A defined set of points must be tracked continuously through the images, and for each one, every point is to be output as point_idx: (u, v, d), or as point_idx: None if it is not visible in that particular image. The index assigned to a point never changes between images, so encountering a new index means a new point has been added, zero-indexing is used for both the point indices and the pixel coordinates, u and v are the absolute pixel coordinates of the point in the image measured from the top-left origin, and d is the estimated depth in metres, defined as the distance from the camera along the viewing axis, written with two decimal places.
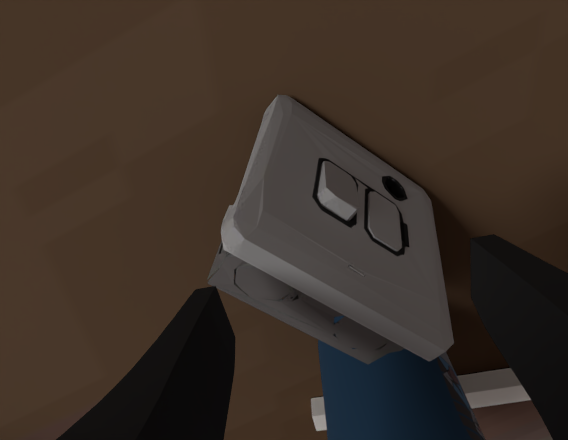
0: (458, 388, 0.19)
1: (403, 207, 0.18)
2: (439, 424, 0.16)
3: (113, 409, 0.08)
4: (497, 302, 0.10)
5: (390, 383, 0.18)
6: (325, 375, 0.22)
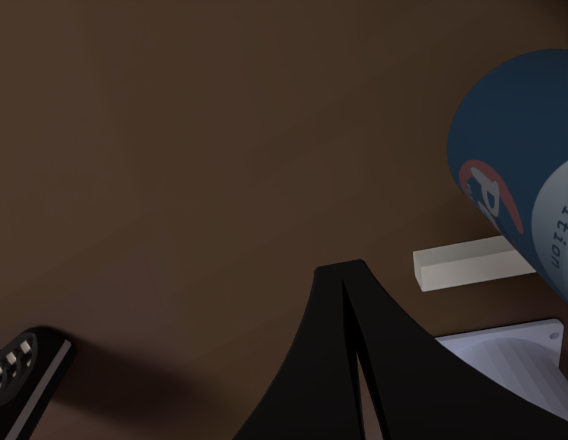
0: None
1: None
2: None
3: (302, 379, 0.07)
4: (353, 326, 0.10)
5: None
6: (486, 130, 0.14)
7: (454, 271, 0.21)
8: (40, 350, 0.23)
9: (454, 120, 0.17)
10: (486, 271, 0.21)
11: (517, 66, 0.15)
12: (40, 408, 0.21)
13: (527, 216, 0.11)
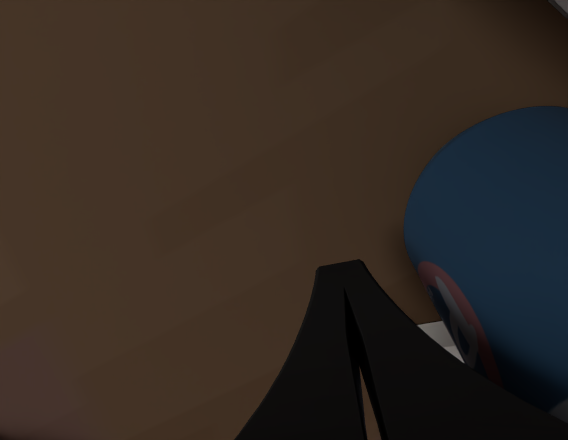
0: None
1: None
2: None
3: (304, 379, 0.07)
4: (352, 326, 0.10)
5: None
6: (461, 234, 0.10)
7: None
8: None
9: (416, 190, 0.13)
10: None
11: (507, 134, 0.11)
12: None
13: None
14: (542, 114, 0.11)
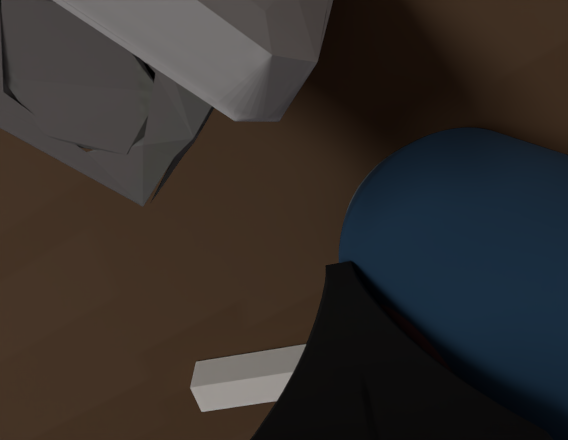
0: None
1: None
2: None
3: (320, 376, 0.07)
4: None
5: None
6: (410, 270, 0.09)
7: (232, 392, 0.18)
8: None
9: (348, 225, 0.12)
10: (270, 391, 0.18)
11: (434, 157, 0.10)
12: None
13: None
14: (462, 135, 0.11)
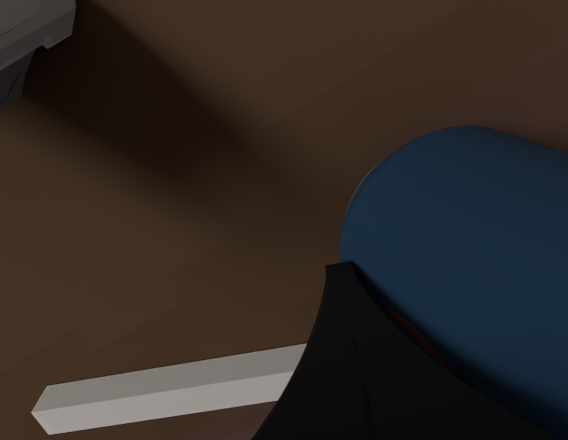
0: None
1: None
2: None
3: (321, 377, 0.07)
4: None
5: None
6: (409, 269, 0.09)
7: (72, 416, 0.18)
8: None
9: (348, 225, 0.12)
10: (109, 415, 0.18)
11: (433, 156, 0.10)
12: None
13: None
14: (461, 134, 0.11)
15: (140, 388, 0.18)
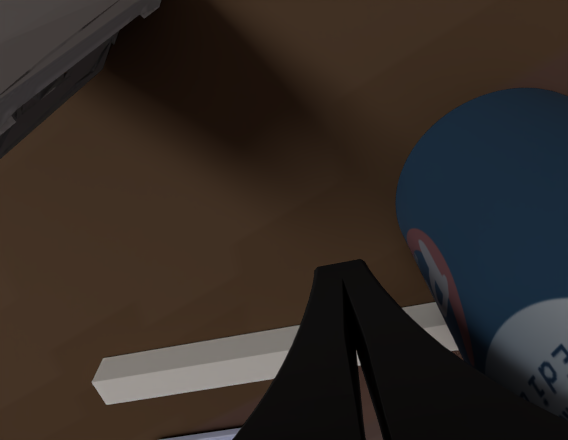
0: None
1: None
2: None
3: (302, 379, 0.07)
4: (353, 326, 0.10)
5: None
6: (439, 198, 0.11)
7: (131, 386, 0.19)
8: None
9: (405, 167, 0.14)
10: (166, 385, 0.19)
11: (485, 110, 0.12)
12: None
13: (480, 352, 0.08)
14: (519, 94, 0.12)
15: (198, 358, 0.19)
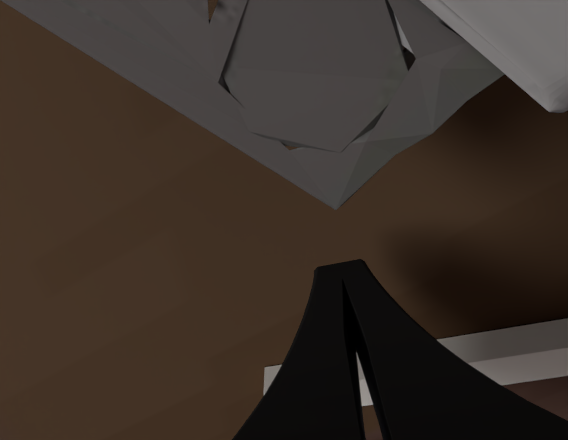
0: None
1: None
2: None
3: (302, 379, 0.07)
4: (353, 326, 0.10)
5: None
6: None
7: None
8: None
9: None
10: None
11: None
12: None
13: None
14: None
15: None
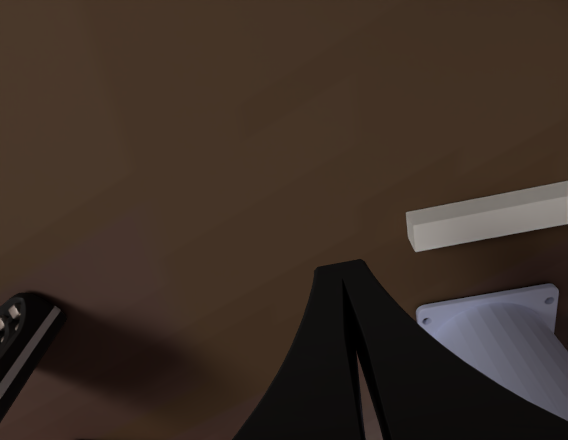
0: None
1: None
2: None
3: (302, 379, 0.07)
4: (353, 326, 0.10)
5: None
6: None
7: (447, 230, 0.21)
8: (28, 314, 0.23)
9: None
10: (479, 229, 0.21)
11: None
12: (28, 369, 0.21)
13: None
14: None
15: (513, 202, 0.20)
